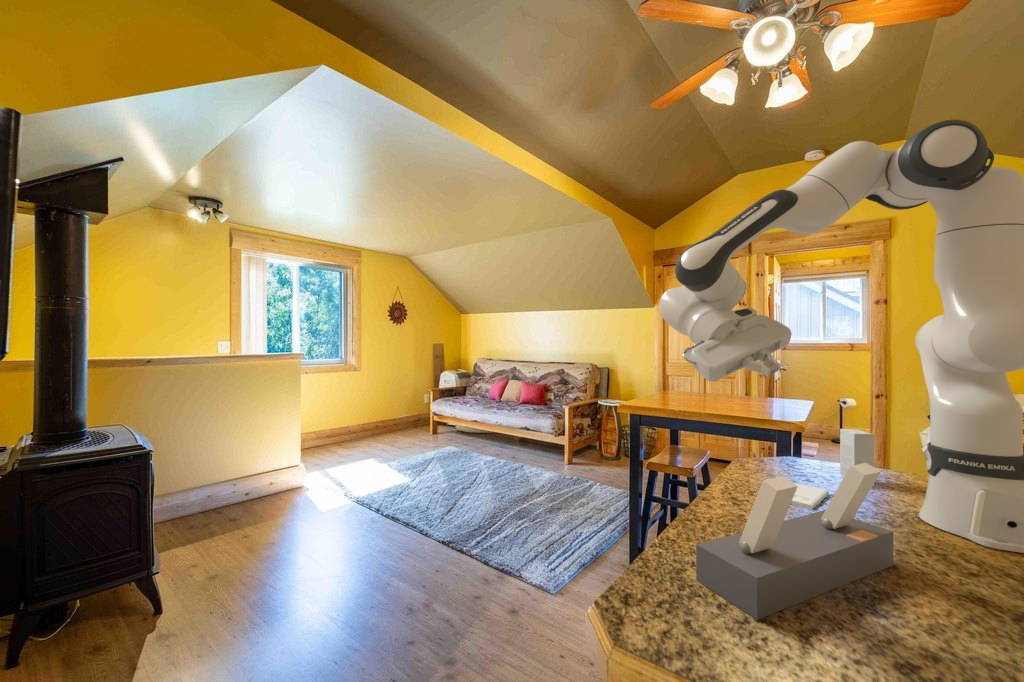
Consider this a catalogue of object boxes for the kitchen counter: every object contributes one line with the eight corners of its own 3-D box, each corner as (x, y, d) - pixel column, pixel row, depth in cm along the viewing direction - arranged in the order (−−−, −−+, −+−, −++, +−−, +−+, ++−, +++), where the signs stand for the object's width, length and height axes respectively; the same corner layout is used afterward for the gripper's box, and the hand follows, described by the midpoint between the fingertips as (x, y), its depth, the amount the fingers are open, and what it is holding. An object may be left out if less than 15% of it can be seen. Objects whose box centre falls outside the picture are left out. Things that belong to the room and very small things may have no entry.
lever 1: (736, 546, 56) (761, 480, 53) (758, 540, 58) (784, 476, 55) (749, 558, 54) (776, 490, 51) (771, 551, 56) (798, 485, 53)
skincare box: (875, 486, 95) (875, 434, 95) (854, 485, 96) (853, 433, 96) (859, 477, 101) (858, 429, 101) (839, 476, 102) (839, 428, 102)
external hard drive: (828, 497, 90) (812, 513, 82) (785, 487, 96) (766, 500, 88) (828, 490, 90) (812, 504, 82) (785, 480, 96) (766, 493, 88)
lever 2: (817, 522, 63) (849, 466, 60) (835, 517, 65) (866, 462, 61) (831, 532, 62) (864, 475, 58) (848, 527, 64) (881, 471, 60)
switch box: (696, 580, 58) (696, 543, 58) (826, 539, 70) (826, 508, 70) (757, 619, 49) (756, 576, 49) (893, 565, 61) (893, 530, 62)
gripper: (678, 341, 84) (732, 381, 74) (757, 304, 88) (819, 337, 77) (677, 364, 88) (727, 405, 77) (752, 327, 92) (811, 361, 81)
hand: (774, 370), depth 77 cm, fingers closed
